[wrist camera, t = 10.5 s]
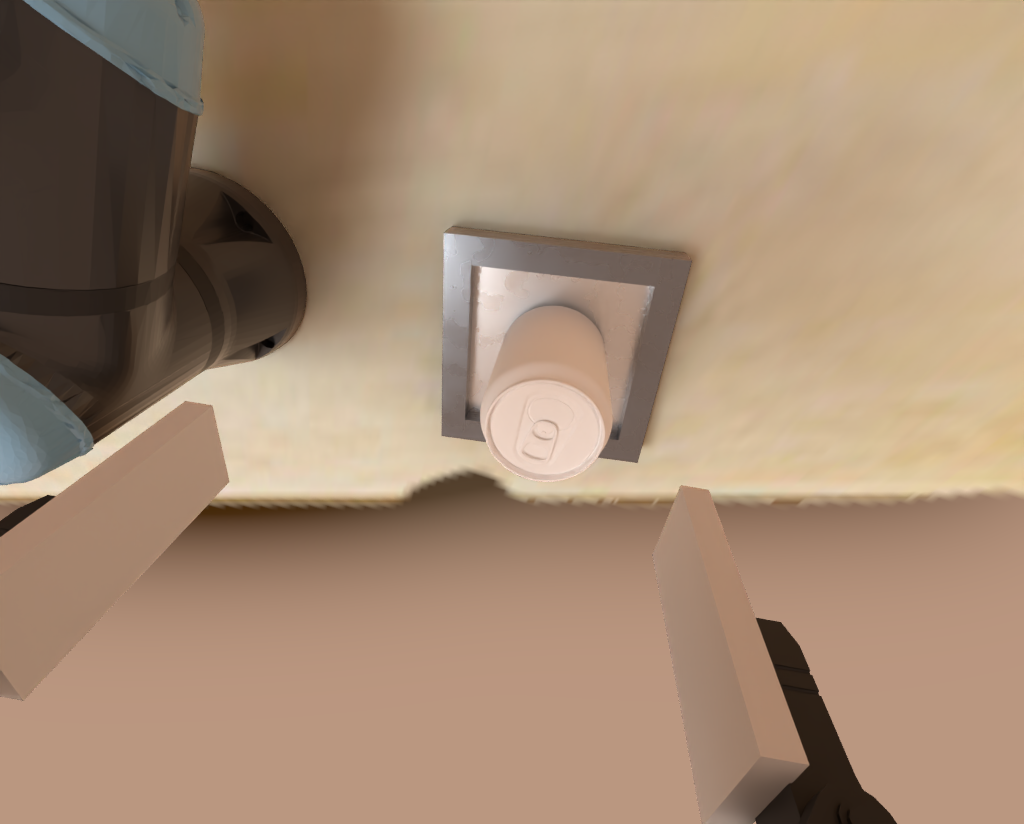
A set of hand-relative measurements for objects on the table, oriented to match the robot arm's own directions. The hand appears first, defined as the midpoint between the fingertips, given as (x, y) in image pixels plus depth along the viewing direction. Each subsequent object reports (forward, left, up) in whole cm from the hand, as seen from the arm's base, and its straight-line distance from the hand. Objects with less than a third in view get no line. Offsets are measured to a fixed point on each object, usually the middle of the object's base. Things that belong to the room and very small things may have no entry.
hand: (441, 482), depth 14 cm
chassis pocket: (+3, -7, -27) cm, 27 cm away
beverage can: (+3, -7, -26) cm, 27 cm away
